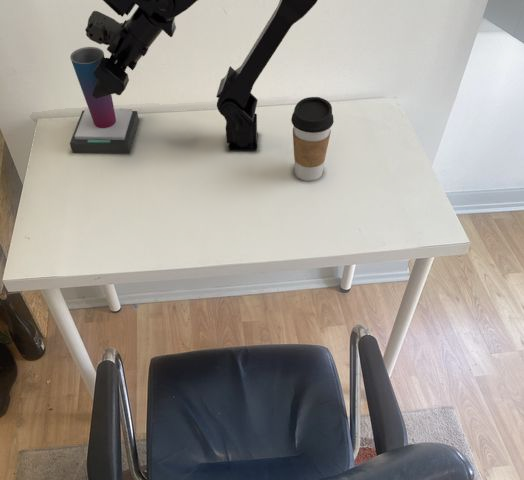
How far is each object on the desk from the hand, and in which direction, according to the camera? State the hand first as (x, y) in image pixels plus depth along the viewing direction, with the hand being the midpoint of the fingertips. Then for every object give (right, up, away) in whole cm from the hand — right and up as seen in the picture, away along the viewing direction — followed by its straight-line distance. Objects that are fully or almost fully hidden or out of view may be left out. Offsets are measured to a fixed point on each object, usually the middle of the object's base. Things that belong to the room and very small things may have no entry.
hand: (100, 84), depth 116 cm
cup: (-1, -5, +8) cm, 9 cm away
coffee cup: (+45, -18, +2) cm, 49 cm away
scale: (-1, -7, +10) cm, 12 cm away
